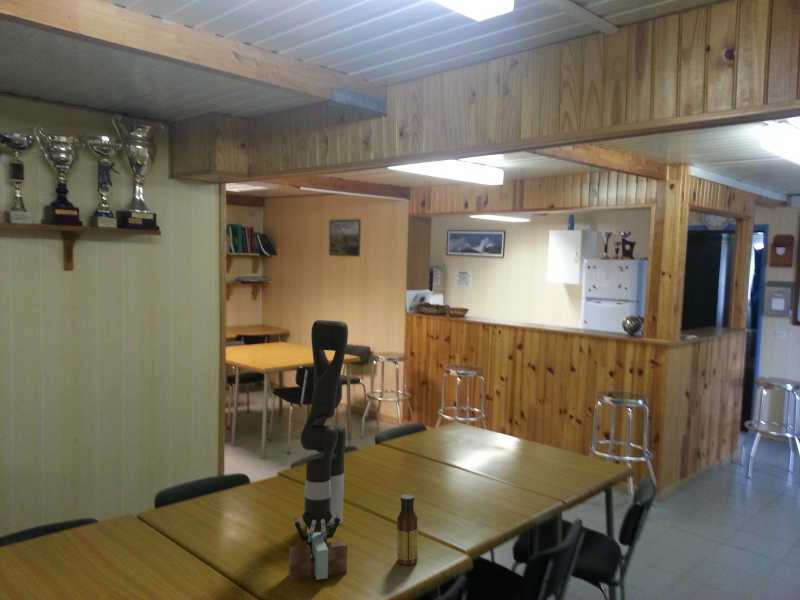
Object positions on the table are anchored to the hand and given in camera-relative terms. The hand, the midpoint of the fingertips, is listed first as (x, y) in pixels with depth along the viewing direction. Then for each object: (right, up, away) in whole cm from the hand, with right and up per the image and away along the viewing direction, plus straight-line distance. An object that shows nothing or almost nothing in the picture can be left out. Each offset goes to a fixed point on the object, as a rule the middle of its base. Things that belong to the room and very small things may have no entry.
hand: (316, 552), depth 176 cm
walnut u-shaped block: (+1, -5, -4) cm, 6 cm away
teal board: (+1, -3, -3) cm, 5 cm away
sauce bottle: (+26, -5, +6) cm, 28 cm away
